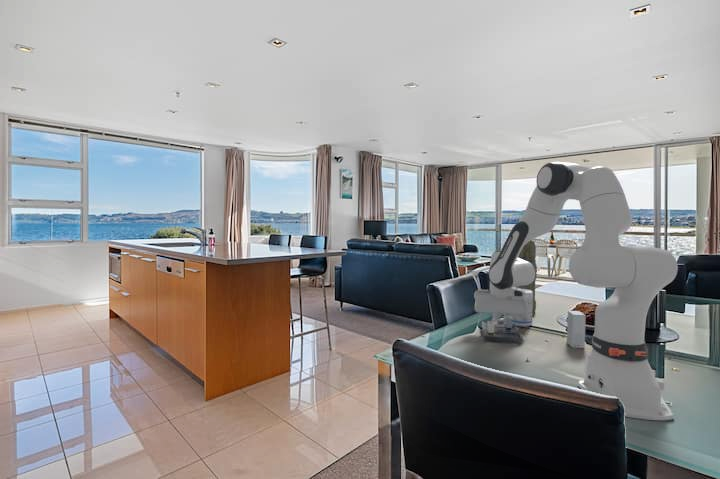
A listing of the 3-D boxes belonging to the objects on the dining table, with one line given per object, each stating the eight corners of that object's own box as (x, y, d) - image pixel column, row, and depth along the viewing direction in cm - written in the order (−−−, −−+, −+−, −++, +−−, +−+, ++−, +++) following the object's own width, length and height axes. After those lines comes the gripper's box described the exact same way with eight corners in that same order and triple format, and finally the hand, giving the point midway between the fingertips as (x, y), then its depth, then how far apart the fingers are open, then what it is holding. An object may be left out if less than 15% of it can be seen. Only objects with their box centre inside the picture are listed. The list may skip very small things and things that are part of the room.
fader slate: (511, 328, 150) (511, 318, 149) (506, 327, 150) (506, 318, 150) (510, 325, 153) (510, 316, 153) (505, 325, 154) (505, 316, 153)
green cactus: (517, 316, 176) (519, 241, 174) (513, 309, 188) (515, 239, 185) (538, 317, 174) (540, 241, 172) (532, 310, 186) (534, 239, 183)
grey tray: (522, 343, 139) (522, 337, 138) (484, 341, 142) (485, 334, 142) (514, 329, 156) (514, 323, 156) (481, 327, 159) (481, 321, 159)
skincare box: (585, 348, 134) (586, 315, 133) (571, 347, 134) (572, 314, 134) (578, 342, 139) (579, 310, 139) (566, 342, 140) (567, 310, 140)
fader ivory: (493, 333, 144) (493, 323, 144) (488, 332, 144) (488, 322, 144) (492, 330, 147) (493, 320, 147) (487, 329, 148) (487, 320, 148)
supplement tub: (504, 321, 168) (504, 288, 167) (523, 320, 169) (524, 287, 168) (516, 327, 158) (517, 293, 157) (537, 326, 160) (537, 292, 159)
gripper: (474, 290, 151) (474, 324, 152) (529, 292, 146) (528, 328, 147) (473, 287, 157) (473, 320, 158) (526, 289, 152) (525, 323, 153)
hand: (500, 324), depth 152 cm, fingers closed
